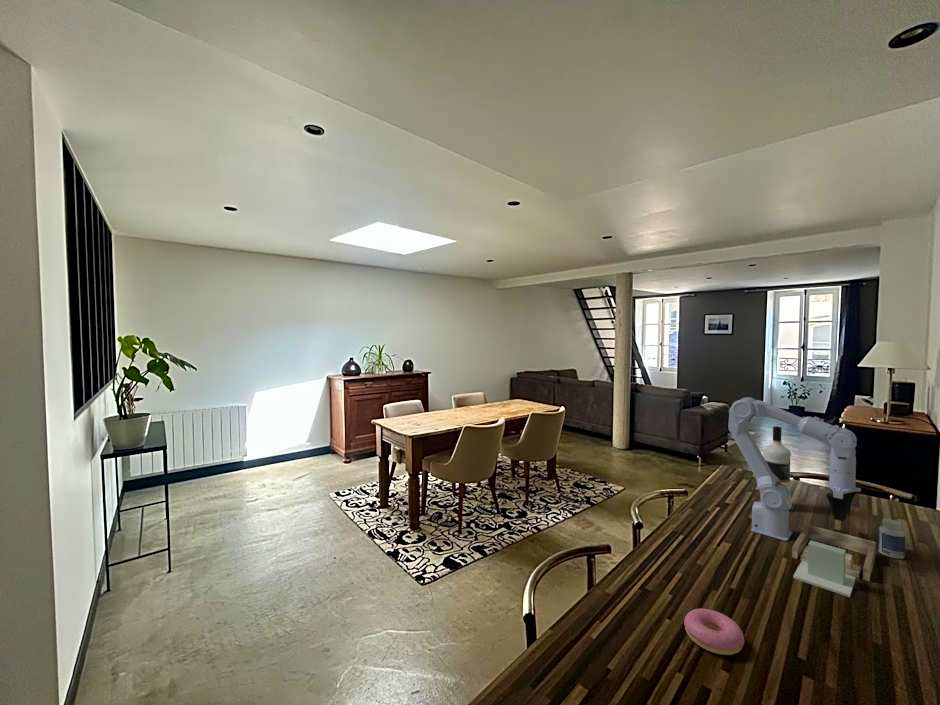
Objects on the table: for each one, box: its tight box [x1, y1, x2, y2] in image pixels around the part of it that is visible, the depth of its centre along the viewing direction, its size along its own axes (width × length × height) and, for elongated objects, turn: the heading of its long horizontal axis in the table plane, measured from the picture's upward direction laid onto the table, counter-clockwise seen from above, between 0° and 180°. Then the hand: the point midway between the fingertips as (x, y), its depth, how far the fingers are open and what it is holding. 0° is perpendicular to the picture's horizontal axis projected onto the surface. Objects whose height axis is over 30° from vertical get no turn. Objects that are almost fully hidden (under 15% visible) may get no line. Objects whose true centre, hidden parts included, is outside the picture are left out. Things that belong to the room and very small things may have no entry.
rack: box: [791, 523, 877, 582], centre depth 118 cm, size 16×19×4 cm
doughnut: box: [683, 607, 745, 656], centre depth 86 cm, size 11×11×4 cm
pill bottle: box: [878, 518, 906, 560], centre depth 119 cm, size 5×5×10 cm
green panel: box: [807, 539, 847, 585], centre depth 107 cm, size 7×3×8 cm, turn 42°
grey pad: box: [792, 560, 856, 598], centre depth 107 cm, size 11×11×1 cm
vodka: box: [762, 426, 793, 510], centre depth 154 cm, size 9×9×30 cm
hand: (841, 516), depth 121 cm, fingers open, 7 cm apart
